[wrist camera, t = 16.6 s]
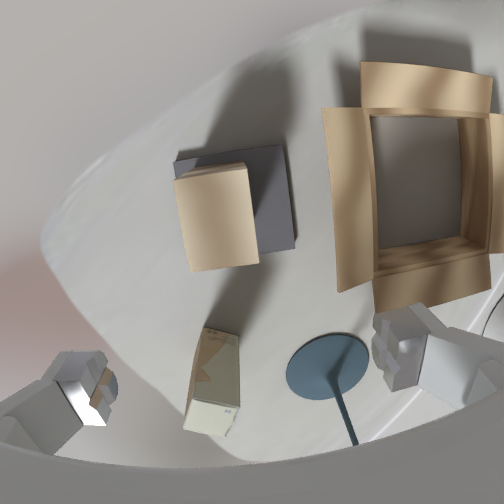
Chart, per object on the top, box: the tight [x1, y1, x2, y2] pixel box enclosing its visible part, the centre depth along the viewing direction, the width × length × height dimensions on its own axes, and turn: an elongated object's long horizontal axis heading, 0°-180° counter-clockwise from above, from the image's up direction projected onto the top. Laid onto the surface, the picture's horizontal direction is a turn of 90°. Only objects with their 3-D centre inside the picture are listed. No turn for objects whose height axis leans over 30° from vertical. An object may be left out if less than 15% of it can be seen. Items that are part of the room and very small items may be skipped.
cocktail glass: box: [286, 335, 369, 446], centre depth 26 cm, size 18×18×25 cm
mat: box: [173, 145, 295, 254], centre depth 30 cm, size 10×10×1 cm
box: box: [183, 328, 240, 438], centre depth 30 cm, size 5×4×11 cm
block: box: [173, 161, 259, 273], centre depth 24 cm, size 4×6×10 cm
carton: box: [321, 61, 504, 314], centre depth 27 cm, size 23×23×6 cm
